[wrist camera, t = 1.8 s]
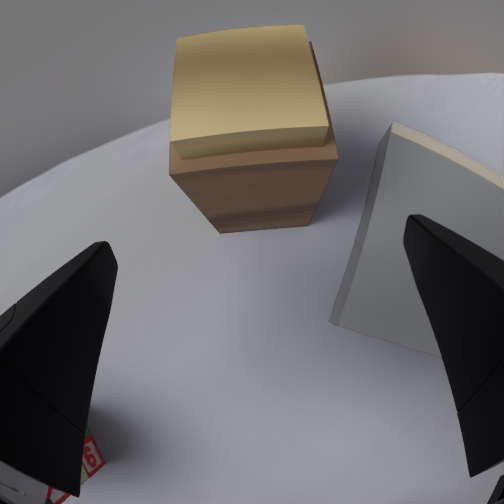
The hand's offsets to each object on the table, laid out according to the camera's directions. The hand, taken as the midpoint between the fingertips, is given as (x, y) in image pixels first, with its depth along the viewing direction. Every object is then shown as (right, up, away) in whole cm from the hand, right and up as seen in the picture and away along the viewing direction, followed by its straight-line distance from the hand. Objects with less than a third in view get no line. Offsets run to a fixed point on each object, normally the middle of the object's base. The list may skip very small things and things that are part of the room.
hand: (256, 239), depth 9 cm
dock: (+13, 0, +12) cm, 17 cm away
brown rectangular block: (0, +4, +13) cm, 14 cm away
